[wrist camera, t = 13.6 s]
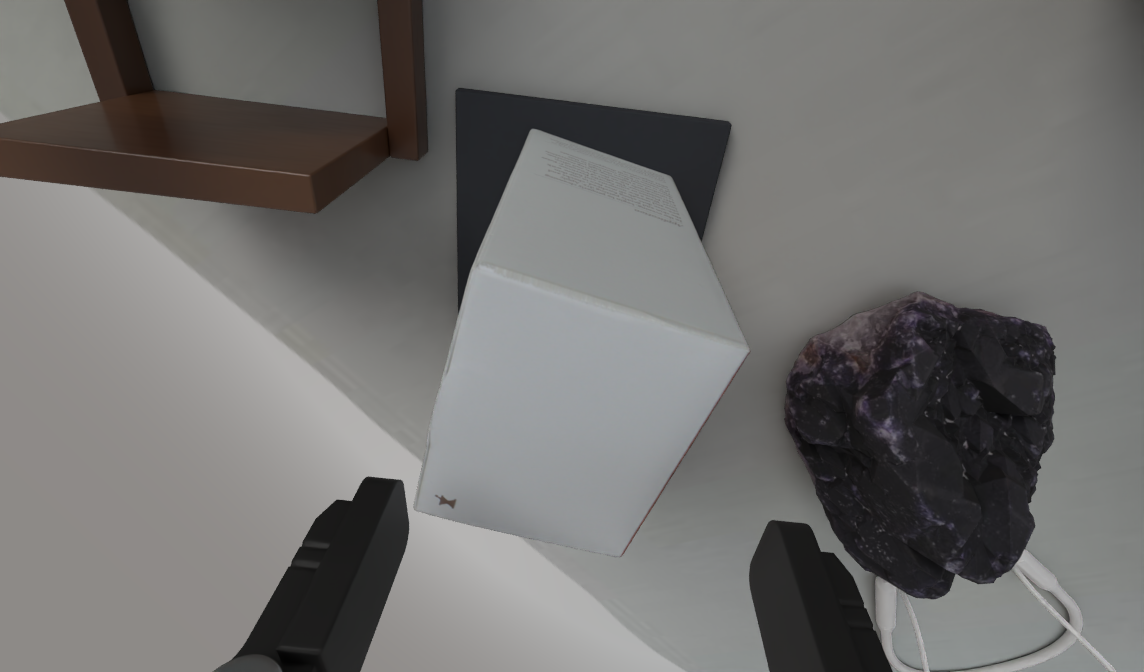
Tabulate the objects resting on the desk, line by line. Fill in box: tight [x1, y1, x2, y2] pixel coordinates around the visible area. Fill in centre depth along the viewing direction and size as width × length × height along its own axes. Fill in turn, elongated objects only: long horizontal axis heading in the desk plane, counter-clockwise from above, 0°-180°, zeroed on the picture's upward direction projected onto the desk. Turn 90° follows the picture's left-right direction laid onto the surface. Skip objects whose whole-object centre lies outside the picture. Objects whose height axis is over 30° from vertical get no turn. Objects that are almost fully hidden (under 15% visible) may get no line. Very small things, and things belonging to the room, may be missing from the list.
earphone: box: [875, 549, 1117, 672], centre depth 37 cm, size 14×17×18 cm
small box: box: [414, 129, 751, 557], centre depth 18 cm, size 8×6×13 cm
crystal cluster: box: [784, 291, 1056, 599], centre depth 25 cm, size 13×14×10 cm
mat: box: [456, 88, 731, 315], centre depth 24 cm, size 11×11×1 cm
